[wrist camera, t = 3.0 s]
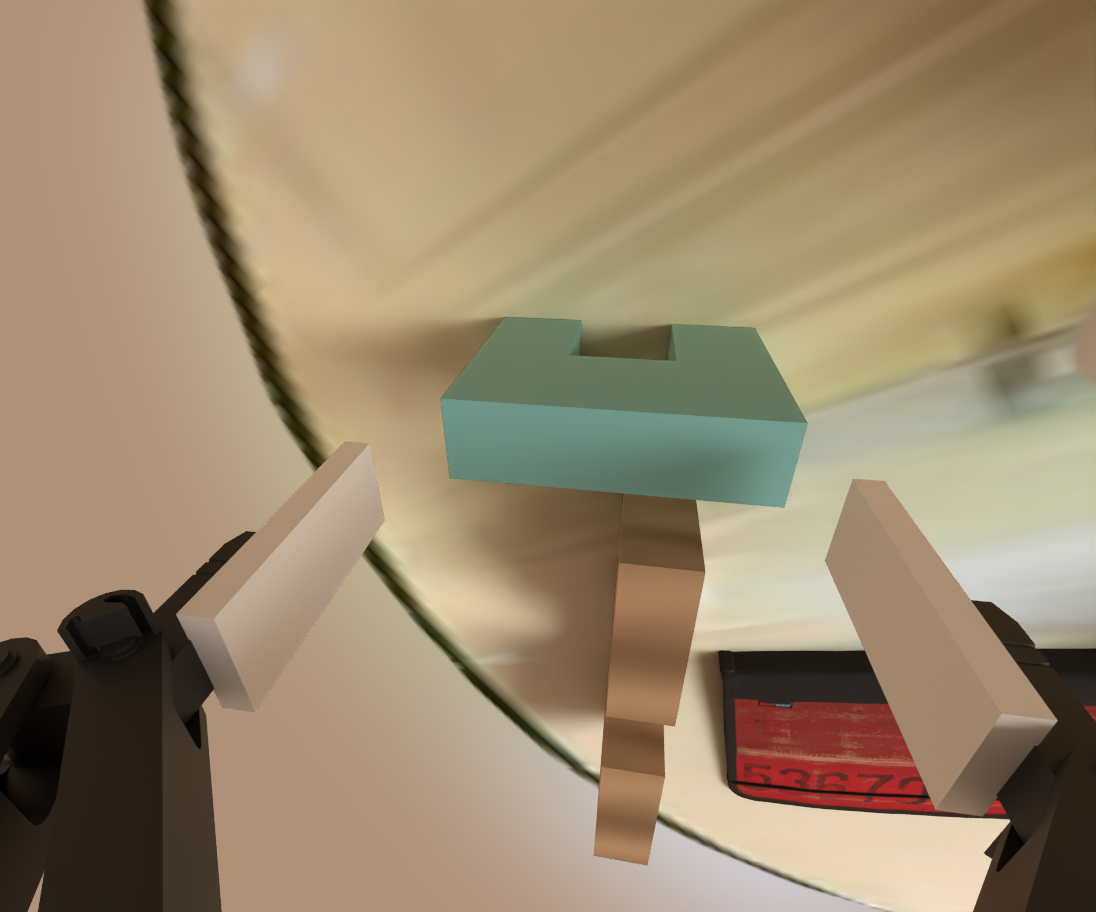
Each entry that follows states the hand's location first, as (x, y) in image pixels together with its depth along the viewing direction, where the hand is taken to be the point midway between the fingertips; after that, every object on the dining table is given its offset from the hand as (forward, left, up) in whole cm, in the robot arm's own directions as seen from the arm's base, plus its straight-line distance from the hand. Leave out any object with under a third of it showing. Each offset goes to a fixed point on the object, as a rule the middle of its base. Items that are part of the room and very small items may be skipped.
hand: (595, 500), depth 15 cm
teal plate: (0, 0, -11) cm, 11 cm away
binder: (+24, +19, -12) cm, 33 cm away
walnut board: (+15, +2, -11) cm, 19 cm away
